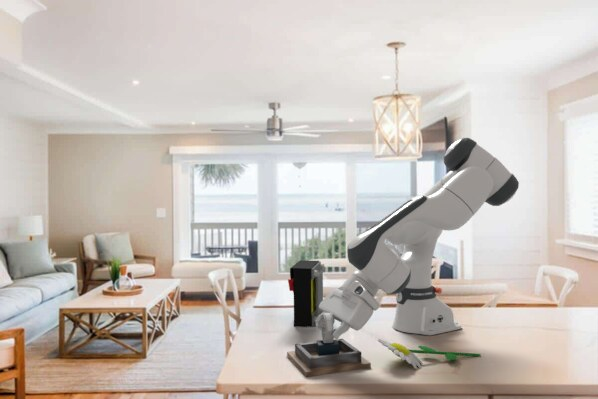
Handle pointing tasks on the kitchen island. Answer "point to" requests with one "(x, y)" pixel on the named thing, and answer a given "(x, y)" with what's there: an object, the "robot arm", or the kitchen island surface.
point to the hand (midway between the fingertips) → (325, 332)
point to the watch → (326, 335)
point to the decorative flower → (412, 358)
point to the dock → (327, 359)
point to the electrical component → (306, 291)
